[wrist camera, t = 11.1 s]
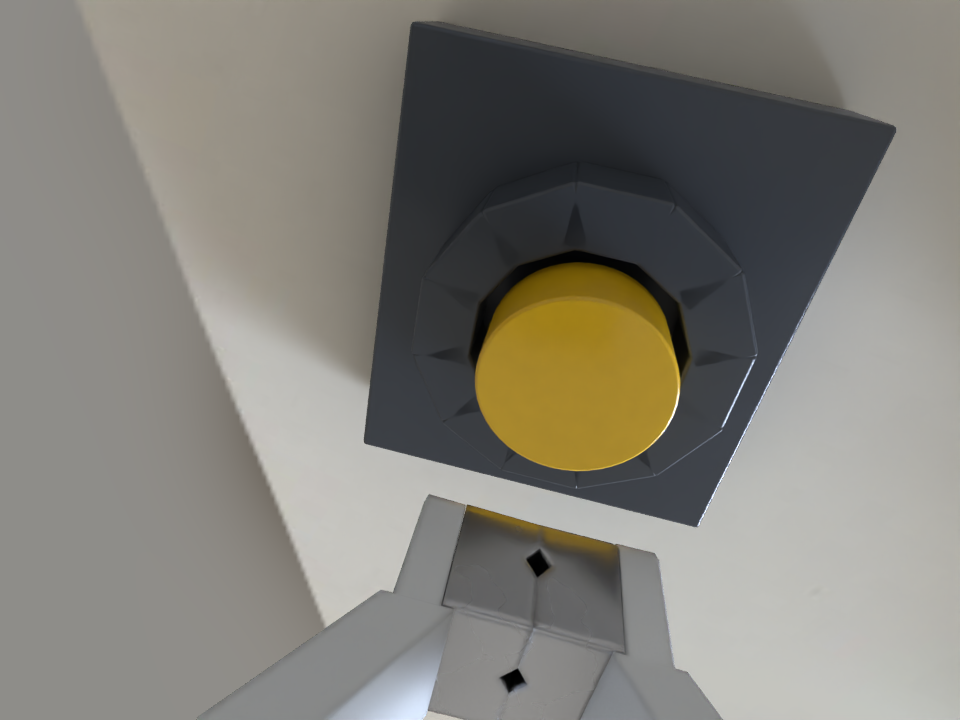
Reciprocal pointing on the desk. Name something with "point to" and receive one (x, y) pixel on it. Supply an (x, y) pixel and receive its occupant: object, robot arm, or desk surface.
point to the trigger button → (578, 368)
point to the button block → (602, 241)
